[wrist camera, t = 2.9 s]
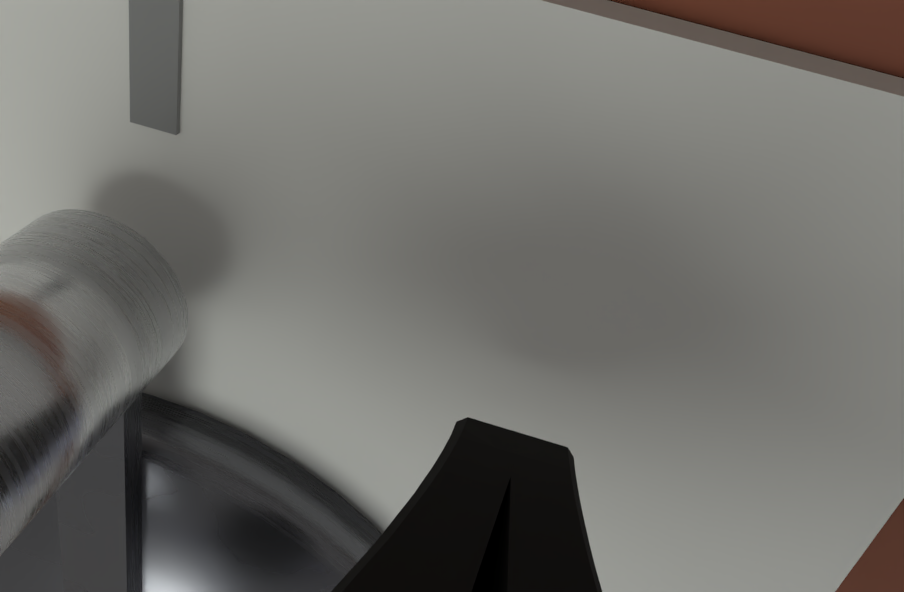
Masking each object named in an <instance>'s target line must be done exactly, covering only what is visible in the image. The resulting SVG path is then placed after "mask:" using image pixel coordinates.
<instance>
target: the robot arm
mask: <svg viewBox="0 0 904 592" xmlns="http://www.w3.org/2000/svg"><path fill="white" fill-rule="evenodd" d="M331 592H602V589H601V585H600V582H599V578H598V575H597V571H596V568H595V564H594V560H593V556H592V552H591V548H590V544H589V539H588V535H587V531H586V526H585V522H584V517H583V512H582V507H581V502H580V497H579V492H578V486H577V479H576V473H575V465H574V457H573V455H572V453H571V452H570V450H569V448H568V447H565V446H562V445H559V444H555V443H552V442H549V441H545V440H542V439H539V438H536V437H532V436H529V435H526V434H522V433H519V432H516V431H512V430H509V429H506V428H502V427H499V426H496V425H492V424H489V423H486V422H482V421H479V420H476V419H472V418H469V417H467V418H464V419H462V420H459V421H457V422H456V424H455V426H454V429H453V431H452V434H451V436H450V438H449V440H448V441H447V443H446V445H445V447H444V449H443V451H442V452H441V454H440V456H439V457H438V459H437V461H436V462H435V464H434V465H433V467H432V468H431V470H430V471H429V473H428V474H427V476H426V477H425V478H424V480H423V481H422V483H421V484H420V486H419V487H418V488H417V490H416V491H415V493H414V494H413V495H412V497H411V498H410V499H409V500H408V502H407V503H406V504H405V506H404V507H403V508H402V509H401V511H400V512H399V513H398V514H397V516H396V517H395V518H394V520H393V521H392V522H391V523H390V525H389V526H388V527H387V528H386V530H385V531H384V532H383V534H382V535H381V536H380V537H379V538H378V540H377V541H376V542H375V543H374V544H373V546H372V547H371V548H370V549H369V550H368V551H367V552H366V553H365V554H364V556H363V557H362V558H361V559H360V560H359V561H358V562H357V563H356V564H355V566H354V567H353V568H352V569H351V570H350V571H349V572H348V573H347V574H346V575H345V577H344V578H343V579H342V580H341V581H340V582H339V583H338V584H337V585H336V586H335V588H334V589H333V590H332V591H331Z"/></svg>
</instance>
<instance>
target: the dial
mask: <svg viewBox="0 0 904 592" xmlns="http://www.w3.org/2000/svg"><path fill="white" fill-rule="evenodd" d="M187 328H188V308H187V302H186V298H185V295H184V292H183V289H182V286H181V284H180V282H179V280H178V278H177V276H176V274H175V273H174V271H173V269H172V268H171V266H170V265H169V264H168V262H167V261H166V260H165V258H164V257H163V256H162V255H161V254H160V253H159V251H158V250H157V249H156V248H155V247H154V246H153V245H152V244H151V243H149V242H148V241H147V240H146V239H145V238H144V237H142V236H141V235H140V234H138V233H137V232H136V231H134V230H133V229H131V228H130V227H128V226H126V225H125V224H123V223H121V222H119V221H117V220H115V219H113V218H111V217H108V216H105V215H102V214H99V213H95V212H91V211H87V210H77V209H64V210H58V211H53V212H50V213H47V214H44V215H43V216H41V217H39V218H37V219H35V220H34V221H33V222H31V223H30V224H28V225H27V226H25V227H24V228H22V229H21V230H19V231H18V232H16V233H15V234H13V235H12V236H10V237H9V238H7V239H6V240H4V241H3V242H1V243H0V592H331V591H332V590H333V589H334V588H335V586H336V585H337V584H338V583H339V582H340V581H341V580H342V579H343V578H344V577H345V575H346V574H347V573H348V572H349V571H350V570H351V569H352V568H353V567H354V566H355V564H356V563H357V562H358V561H359V560H360V559H361V558H362V557H363V556H364V554H365V553H366V552H367V551H368V550H369V549H370V548H371V547H372V546H373V544H374V543H375V542H376V541H377V540H378V538H379V537H380V536H381V535H382V533H381V532H380V531H379V530H378V529H377V528H376V527H375V526H374V525H373V524H372V523H371V522H370V521H369V520H368V519H367V518H366V517H364V516H363V515H362V514H361V513H360V512H359V511H358V510H356V509H355V508H354V507H353V506H352V505H351V504H350V503H348V502H347V501H346V500H345V499H344V498H343V497H342V496H340V495H339V494H338V493H337V492H336V491H335V490H333V489H332V488H330V487H329V486H328V485H326V484H325V483H323V482H322V481H321V480H319V479H318V478H316V477H315V476H314V475H312V474H311V473H309V472H308V471H307V470H305V469H304V468H302V467H301V466H300V465H298V464H297V463H295V462H294V461H292V460H291V459H289V458H287V457H285V456H284V455H282V454H280V453H279V452H277V451H275V450H273V449H272V448H270V447H268V446H267V445H265V444H263V443H261V442H260V441H258V440H256V439H255V438H253V437H251V436H249V435H248V434H245V433H243V432H241V431H239V430H237V429H235V428H233V427H230V426H228V425H226V424H224V423H222V422H220V421H218V420H215V419H213V418H211V417H209V416H207V415H205V414H203V413H200V412H198V411H195V410H192V409H189V408H187V407H184V406H181V405H178V404H175V403H173V402H170V401H167V400H164V399H162V398H159V397H156V396H153V395H150V394H146V393H142V392H143V390H144V389H145V388H146V387H147V386H148V385H149V384H150V382H151V381H152V380H153V379H154V378H155V377H156V375H157V374H158V373H159V372H160V371H161V370H162V368H163V367H164V366H165V365H166V364H167V363H168V362H169V360H170V359H171V358H172V357H173V356H174V355H175V353H176V352H177V351H178V349H179V348H180V347H181V345H182V343H183V341H184V339H185V336H186V333H187Z"/></svg>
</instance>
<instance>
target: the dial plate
mask: <svg viewBox="0 0 904 592" xmlns="http://www.w3.org/2000/svg"><path fill="white" fill-rule="evenodd" d="M64 209H77V210H87V211H91V212H95V213H99V214H102V215H105V216H108V217H111V218H113V219H115V220H117V221H119V222H121V223H123V224H125V225H126V226H128V227H130V228H131V229H133V230H134V231H136V232H137V233H138V234H140V235H141V236H142V237H144V238H145V239H146V240H147V241H148V242H149V243H151V244H152V245H153V246H154V247H155V248H156V249H157V250H158V251H159V253H160V254H161V255H162V256H163V257H164V258H165V260H166V261H167V262H168V264H169V265H170V266H171V268H172V269H173V271H174V273H175V274H176V276H177V278H178V280H179V282H180V284H181V286H182V289H183V292H184V295H185V298H186V302H187V308H188V328H187V333H186V336H185V339H184V341H183V343H182V345H181V347H180V348H179V349H178V351H177V352H176V353H175V355H174V356H173V357H172V358H171V359H170V360H169V362H168V363H167V364H166V365H165V366H164V367H163V368H162V370H161V371H160V372H159V373H158V374H157V375H156V377H155V378H154V379H153V380H152V381H151V382H150V384H149V385H148V386H147V387H146V388H145V389H144V390H143V392H142V393H146V394H150V395H153V396H156V397H159V398H162V399H164V400H167V401H170V402H173V403H175V404H178V405H181V406H184V407H187V408H189V409H192V410H195V411H198V412H200V413H203V414H205V415H207V416H209V417H211V418H213V419H215V420H218V421H220V422H222V423H224V424H226V425H228V426H230V427H233V428H235V429H237V430H239V431H241V432H243V433H245V434H248V435H249V436H251V437H253V438H255V439H256V440H258V441H260V442H261V443H263V444H265V445H267V446H268V447H270V448H272V449H273V450H275V451H277V452H279V453H280V454H282V455H284V456H285V457H287V458H289V459H291V460H292V461H294V462H295V463H297V464H298V465H300V466H301V467H302V468H304V469H305V470H307V471H308V472H309V473H311V474H312V475H314V476H315V477H316V478H318V479H319V480H321V481H322V482H323V483H325V484H326V485H328V486H329V487H330V488H332V489H333V490H335V491H336V492H337V493H338V494H339V495H340V496H342V497H343V498H344V499H345V500H346V501H347V502H348V503H350V504H351V505H352V506H353V507H354V508H355V509H356V510H358V511H359V512H360V513H361V514H362V515H363V516H364V517H366V518H367V519H368V520H369V521H370V522H371V523H372V524H373V525H374V526H375V527H376V528H377V529H378V530H379V531H380V532H381V533H382V534H383V532H384V531H385V530H386V528H387V527H388V526H389V525H390V523H391V522H392V521H393V520H394V518H395V517H396V516H397V514H398V513H399V512H400V511H401V509H402V508H403V507H404V506H405V504H406V503H407V502H408V500H409V499H410V498H411V497H412V495H413V494H414V493H415V491H416V490H417V488H418V487H419V486H420V484H421V483H422V481H423V480H424V478H425V477H426V476H427V474H428V473H429V471H430V470H431V468H432V467H433V465H434V464H435V462H436V461H437V459H438V457H439V456H440V454H441V452H442V451H443V449H444V447H445V445H446V443H447V441H448V440H449V438H450V436H451V434H452V431H453V429H454V426H455V424H456V422H457V421H459V420H462V419H464V418H467V417H469V418H472V419H476V420H479V421H482V422H486V423H489V424H492V425H496V426H499V427H502V428H506V429H509V430H512V431H516V432H519V433H522V434H526V435H529V436H532V437H536V438H539V439H542V440H545V441H549V442H552V443H555V444H559V445H562V446H565V447H568V448H569V450H570V452H571V453H572V455H573V457H574V465H575V473H576V479H577V486H578V492H579V497H580V502H581V507H582V512H583V517H584V522H585V526H586V531H587V535H588V539H589V544H590V548H591V552H592V556H593V560H594V564H595V568H596V571H597V575H598V578H599V582H600V585H601V589H602V592H835V591H836V590H837V588H838V587H839V586H840V584H841V583H842V581H843V580H844V579H845V577H846V576H847V575H848V573H849V572H850V571H851V569H852V568H853V566H854V565H855V564H856V562H857V561H858V560H859V558H860V557H861V556H862V554H863V553H864V551H865V550H866V549H867V547H868V546H869V545H870V543H871V542H872V541H873V539H874V538H875V536H876V535H877V534H878V532H879V531H880V530H881V528H882V527H883V526H884V524H885V523H886V521H887V520H888V519H889V517H890V516H891V515H892V513H893V512H894V511H895V509H896V508H897V506H898V505H899V504H900V502H901V501H902V500H903V498H904V78H900V77H896V76H893V75H889V74H885V73H881V72H877V71H874V70H870V69H866V68H862V67H859V66H855V65H851V64H847V63H843V62H840V61H836V60H832V59H828V58H824V57H821V56H817V55H813V54H809V53H806V52H802V51H798V50H794V49H790V48H787V47H783V46H779V45H775V44H772V43H768V42H764V41H760V40H756V39H753V38H749V37H745V36H741V35H738V34H734V33H730V32H726V31H722V30H719V29H715V28H711V27H707V26H703V25H700V24H696V23H692V22H688V21H685V20H681V19H677V18H673V17H669V16H666V15H662V14H658V13H654V12H651V11H647V10H643V9H639V8H635V7H632V6H628V5H624V4H620V3H617V2H613V1H609V0H0V243H1V242H3V241H4V240H6V239H7V238H9V237H10V236H12V235H13V234H15V233H16V232H18V231H19V230H21V229H22V228H24V227H25V226H27V225H28V224H30V223H31V222H33V221H34V220H35V219H37V218H39V217H41V216H43V215H44V214H47V213H50V212H53V211H58V210H64Z"/></svg>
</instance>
